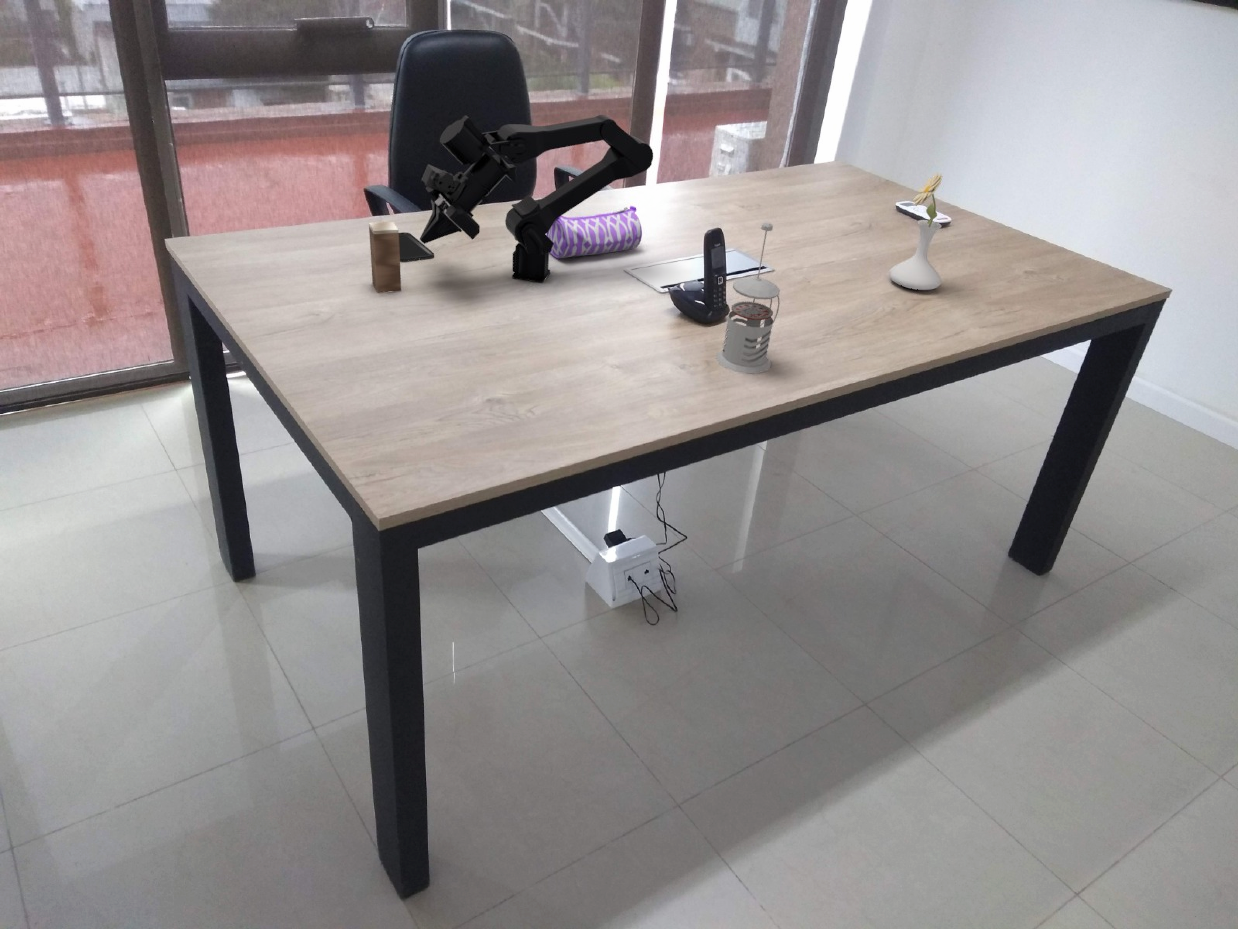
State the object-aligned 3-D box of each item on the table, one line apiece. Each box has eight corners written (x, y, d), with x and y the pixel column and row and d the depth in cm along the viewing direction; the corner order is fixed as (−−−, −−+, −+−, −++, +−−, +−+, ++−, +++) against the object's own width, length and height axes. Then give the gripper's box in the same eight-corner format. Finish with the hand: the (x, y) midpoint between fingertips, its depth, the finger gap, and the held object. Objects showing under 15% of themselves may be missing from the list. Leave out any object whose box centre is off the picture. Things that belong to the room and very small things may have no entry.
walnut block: (396, 281, 177) (393, 221, 171) (401, 290, 174) (398, 229, 168) (372, 283, 176) (368, 222, 169) (377, 292, 172) (373, 230, 166)
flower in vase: (895, 271, 208) (924, 159, 194) (944, 284, 203) (978, 171, 190) (877, 287, 198) (907, 171, 185) (929, 301, 194) (963, 183, 180)
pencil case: (621, 239, 210) (625, 198, 205) (646, 252, 204) (650, 211, 199) (540, 252, 198) (542, 209, 193) (563, 267, 192) (566, 223, 187)
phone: (408, 231, 200) (435, 254, 189) (408, 236, 200) (436, 259, 190) (373, 235, 196) (399, 259, 185) (373, 240, 196) (399, 264, 186)
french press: (704, 357, 161) (725, 218, 148) (745, 341, 168) (769, 207, 155) (747, 378, 155) (773, 236, 142) (788, 361, 163) (816, 224, 149)
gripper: (435, 137, 173) (379, 197, 175) (462, 165, 159) (401, 230, 161) (475, 178, 180) (421, 235, 182) (504, 207, 166) (446, 269, 168)
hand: (421, 241), depth 173 cm, fingers closed
